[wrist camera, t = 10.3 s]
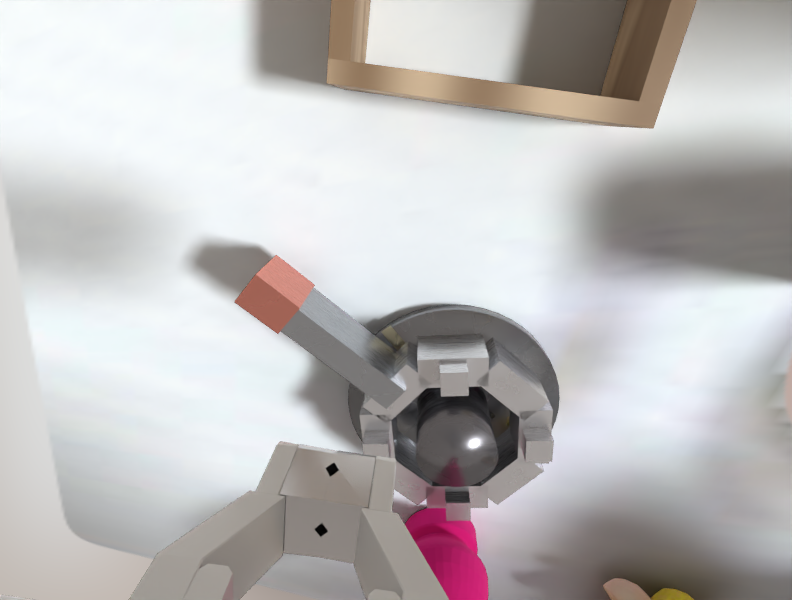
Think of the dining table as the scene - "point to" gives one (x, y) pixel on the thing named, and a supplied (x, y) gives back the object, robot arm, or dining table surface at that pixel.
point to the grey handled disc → (412, 386)
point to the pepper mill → (450, 553)
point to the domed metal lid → (459, 415)
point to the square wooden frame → (616, 106)
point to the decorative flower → (640, 592)
